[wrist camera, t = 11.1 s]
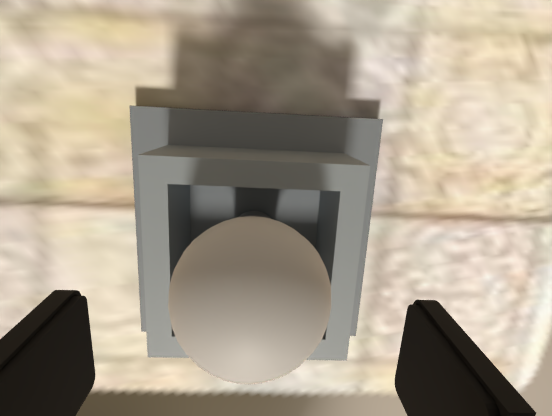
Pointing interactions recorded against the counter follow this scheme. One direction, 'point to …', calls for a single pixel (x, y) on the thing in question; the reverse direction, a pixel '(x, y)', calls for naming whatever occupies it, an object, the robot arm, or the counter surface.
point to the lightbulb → (249, 299)
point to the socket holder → (252, 198)
